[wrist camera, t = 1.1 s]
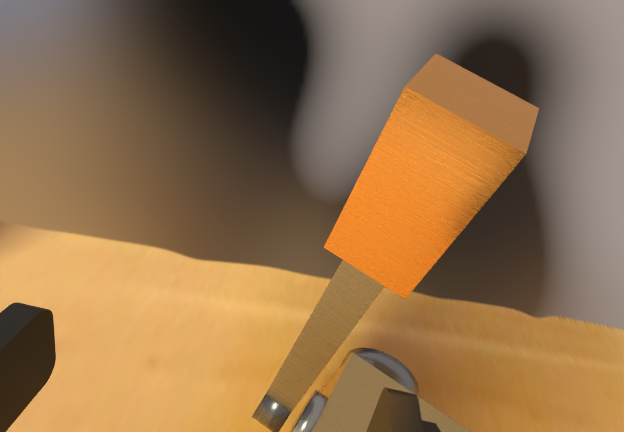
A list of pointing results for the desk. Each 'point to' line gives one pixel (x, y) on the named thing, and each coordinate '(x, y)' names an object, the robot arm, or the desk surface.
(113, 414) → the desk surface
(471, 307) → the desk surface
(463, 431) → the block
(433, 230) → the lever
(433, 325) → the desk surface
